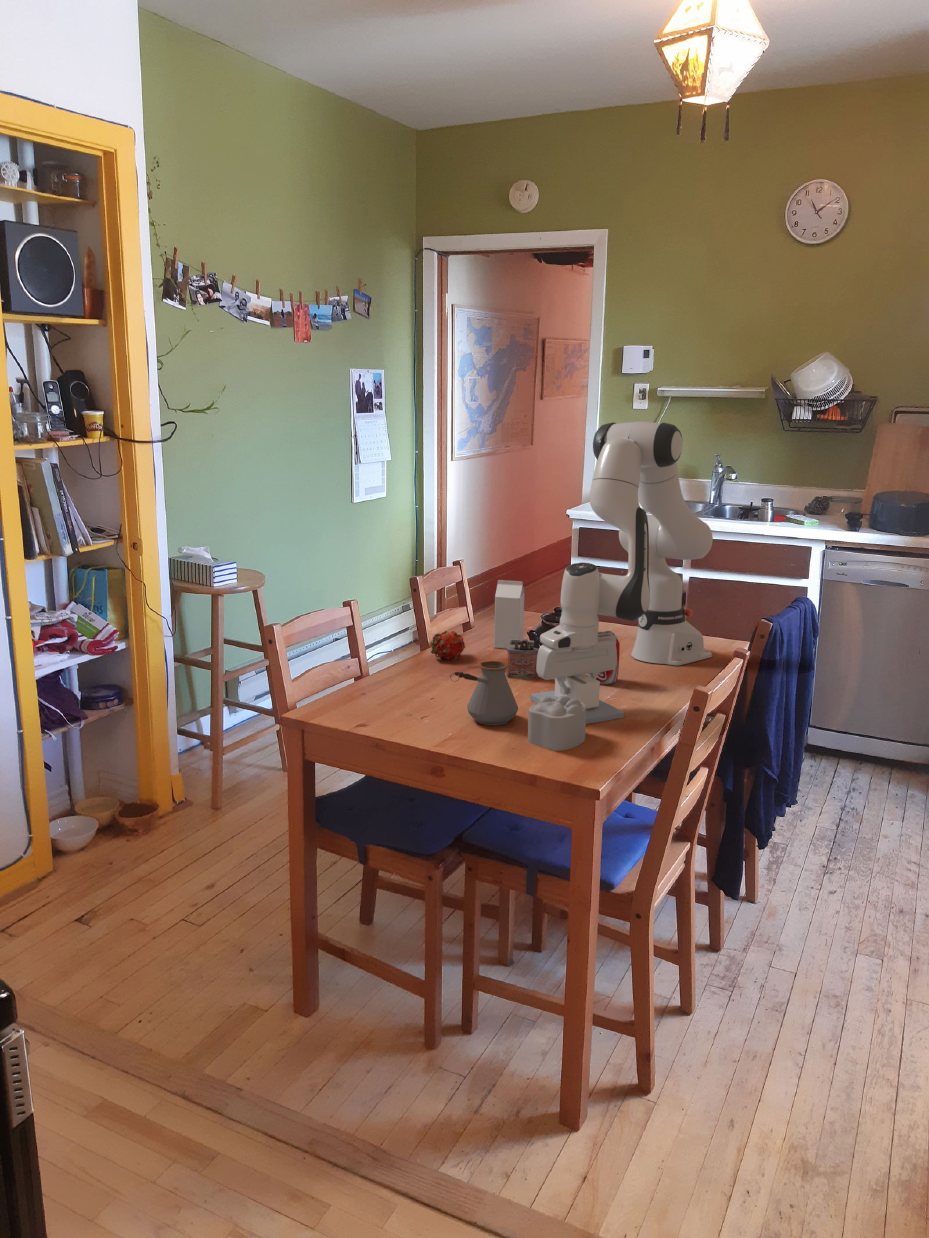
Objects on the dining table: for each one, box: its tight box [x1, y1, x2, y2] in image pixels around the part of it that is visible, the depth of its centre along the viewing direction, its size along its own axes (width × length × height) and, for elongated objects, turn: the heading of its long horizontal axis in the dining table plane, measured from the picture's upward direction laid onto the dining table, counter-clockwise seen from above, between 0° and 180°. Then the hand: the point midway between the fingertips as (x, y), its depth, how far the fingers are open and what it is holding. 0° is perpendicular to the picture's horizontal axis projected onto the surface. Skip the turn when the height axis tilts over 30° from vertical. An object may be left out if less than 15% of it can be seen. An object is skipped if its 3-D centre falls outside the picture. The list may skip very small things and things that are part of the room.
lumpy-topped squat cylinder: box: [527, 696, 587, 752], centre depth 203 cm, size 10×13×9 cm
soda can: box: [596, 634, 621, 685], centre depth 241 cm, size 7×7×12 cm
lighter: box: [506, 638, 539, 680], centre depth 244 cm, size 8×3×10 cm, turn 84°
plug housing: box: [554, 674, 601, 709], centre depth 221 cm, size 5×11×6 cm, turn 26°
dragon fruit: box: [430, 630, 466, 661], centre depth 260 cm, size 8×8×12 cm
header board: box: [529, 690, 625, 725], centre depth 222 cm, size 13×20×5 cm, turn 26°
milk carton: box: [493, 579, 525, 650], centre depth 271 cm, size 7×7×19 cm
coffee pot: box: [449, 660, 519, 726], centre depth 209 cm, size 21×12×15 cm, turn 146°
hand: (576, 692), depth 222 cm, fingers closed on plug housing, 5 cm apart
